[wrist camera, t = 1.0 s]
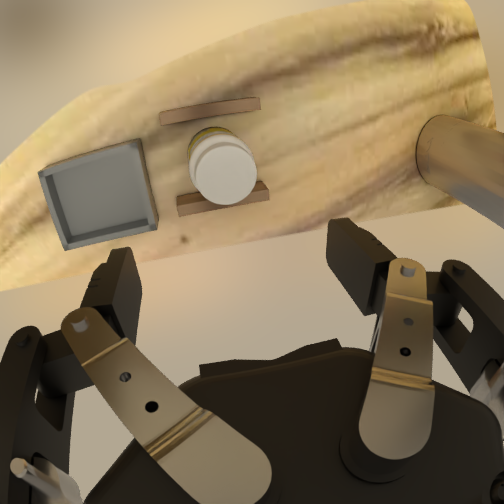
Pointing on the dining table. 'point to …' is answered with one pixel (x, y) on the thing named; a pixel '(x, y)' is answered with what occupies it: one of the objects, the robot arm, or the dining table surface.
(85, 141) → the dining table surface
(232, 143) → the supplement bottle
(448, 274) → the robot arm
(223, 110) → the slot rails
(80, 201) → the tray
